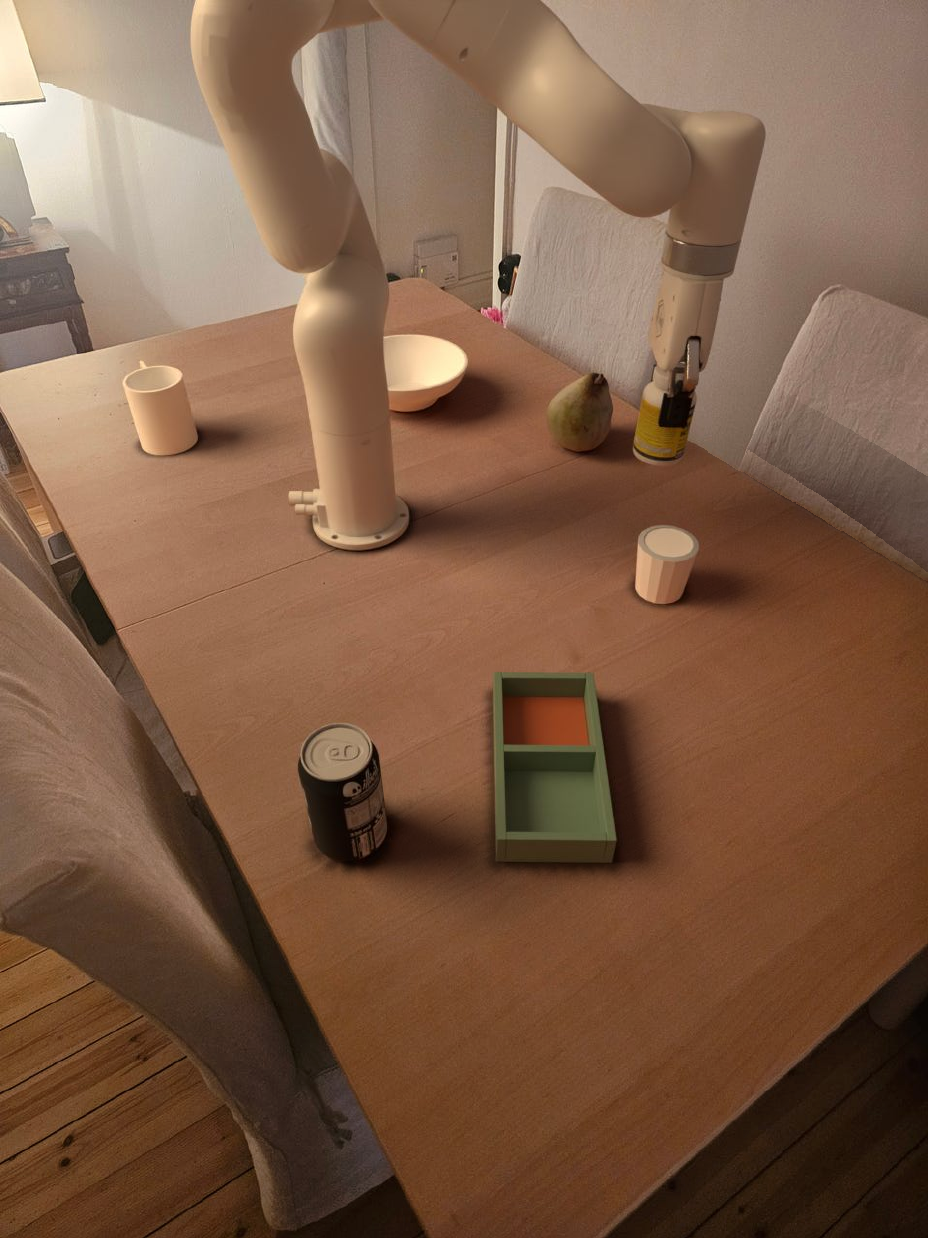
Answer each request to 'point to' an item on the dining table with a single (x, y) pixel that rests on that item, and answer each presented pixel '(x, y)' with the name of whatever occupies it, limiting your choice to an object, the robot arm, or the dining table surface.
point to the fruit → (581, 413)
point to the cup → (160, 409)
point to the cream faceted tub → (664, 563)
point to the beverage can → (343, 791)
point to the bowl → (421, 370)
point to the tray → (550, 770)
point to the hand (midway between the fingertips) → (666, 409)
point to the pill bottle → (650, 438)
